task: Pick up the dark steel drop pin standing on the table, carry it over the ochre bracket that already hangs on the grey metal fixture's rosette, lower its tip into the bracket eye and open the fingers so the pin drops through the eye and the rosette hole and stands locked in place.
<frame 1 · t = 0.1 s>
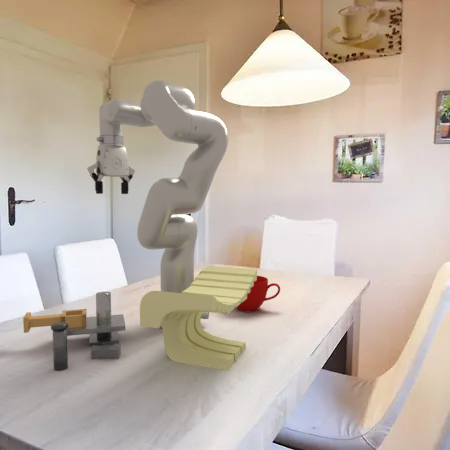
hand: (112, 193, 134), 37 cm above the table, tool pointing down, fingers open, 9 cm apart
drop pin: (60, 367, 84), on the table
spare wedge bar: (106, 357, 91), on the table
slatted curved stool: (205, 354, 93), on the table
ceramic cup: (253, 310, 129), on the table
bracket: (56, 319, 97), point 6 cm above the table
grey metal fixture: (104, 339, 101), on the table
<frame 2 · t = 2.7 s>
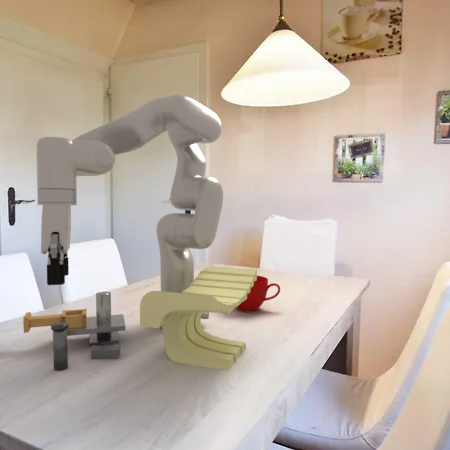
hand: (58, 279, 84), 19 cm above the table, tool pointing down, fingers open, 9 cm apart
nothing on the table moved.
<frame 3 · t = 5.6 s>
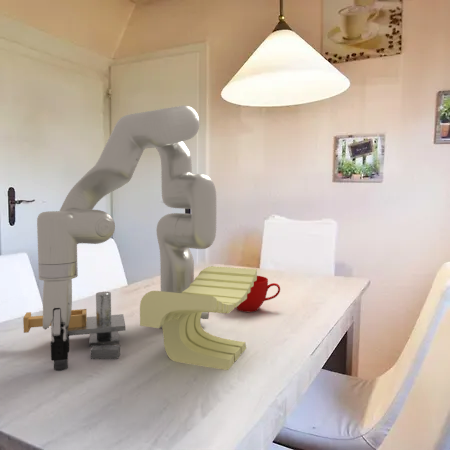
hand: (60, 355, 84), 3 cm above the table, tool pointing down, fingers closed on drop pin, 2 cm apart
drop pin: (60, 367, 84), on the table, touching gripper
everything else where it was.
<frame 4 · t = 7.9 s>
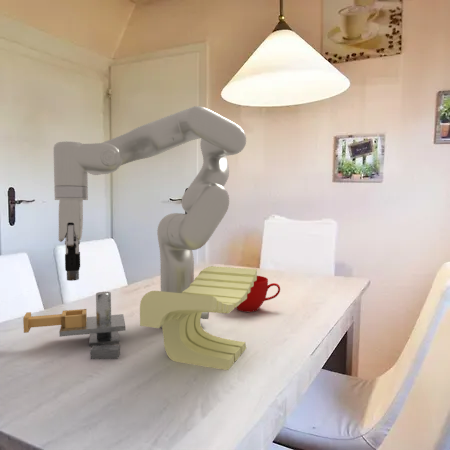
hand: (72, 268, 98), 19 cm above the table, tool pointing down, fingers closed on drop pin, 2 cm apart
drop pin: (72, 279, 98), point 16 cm above the table, touching gripper
everything else where it was.
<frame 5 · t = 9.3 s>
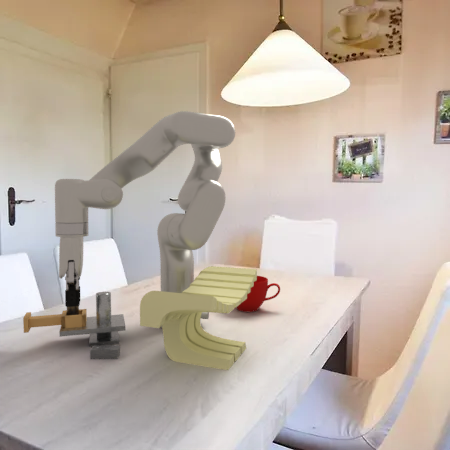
hand: (73, 303, 98), 10 cm above the table, tool pointing down, fingers closed on drop pin, 2 cm apart
drop pin: (72, 314, 98), point 7 cm above the table, touching gripper
everything else where it was.
when the fingers open (8 cm above the table, at t = 10.3 s): drop pin drops 6 cm, on the table.
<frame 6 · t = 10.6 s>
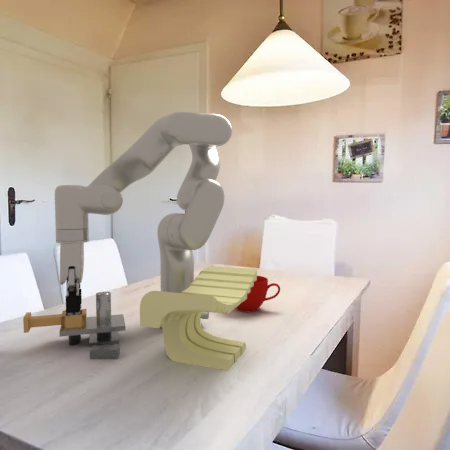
hand: (74, 307, 98), 9 cm above the table, tool pointing down, fingers open, 6 cm apart
drop pin: (74, 343, 99), on the table
everything else where it was.
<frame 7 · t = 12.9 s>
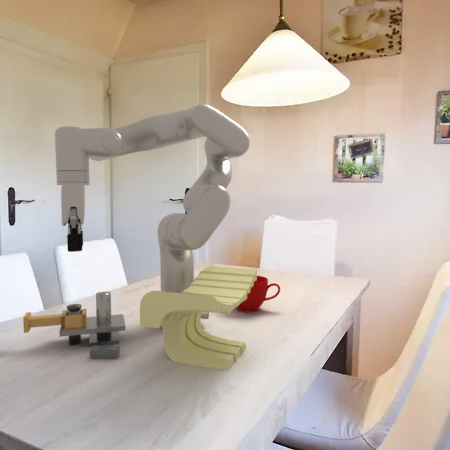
hand: (75, 248, 98), 23 cm above the table, tool pointing down, fingers open, 9 cm apart
nothing on the table moved.
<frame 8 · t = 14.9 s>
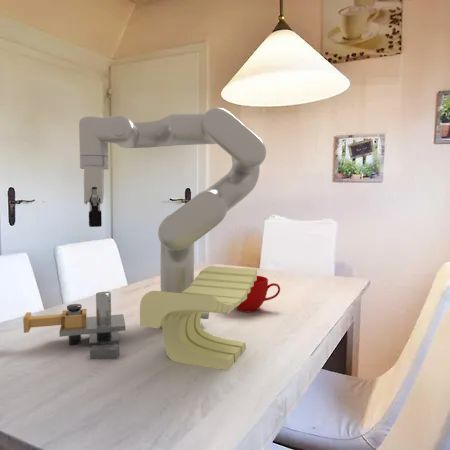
hand: (95, 225, 111), 28 cm above the table, tool pointing down, fingers open, 9 cm apart
nothing on the table moved.
at the end: drop pin 0.0 cm from the target spot, on the table; drop pin tilted 0°; the gripper is holding nothing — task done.
